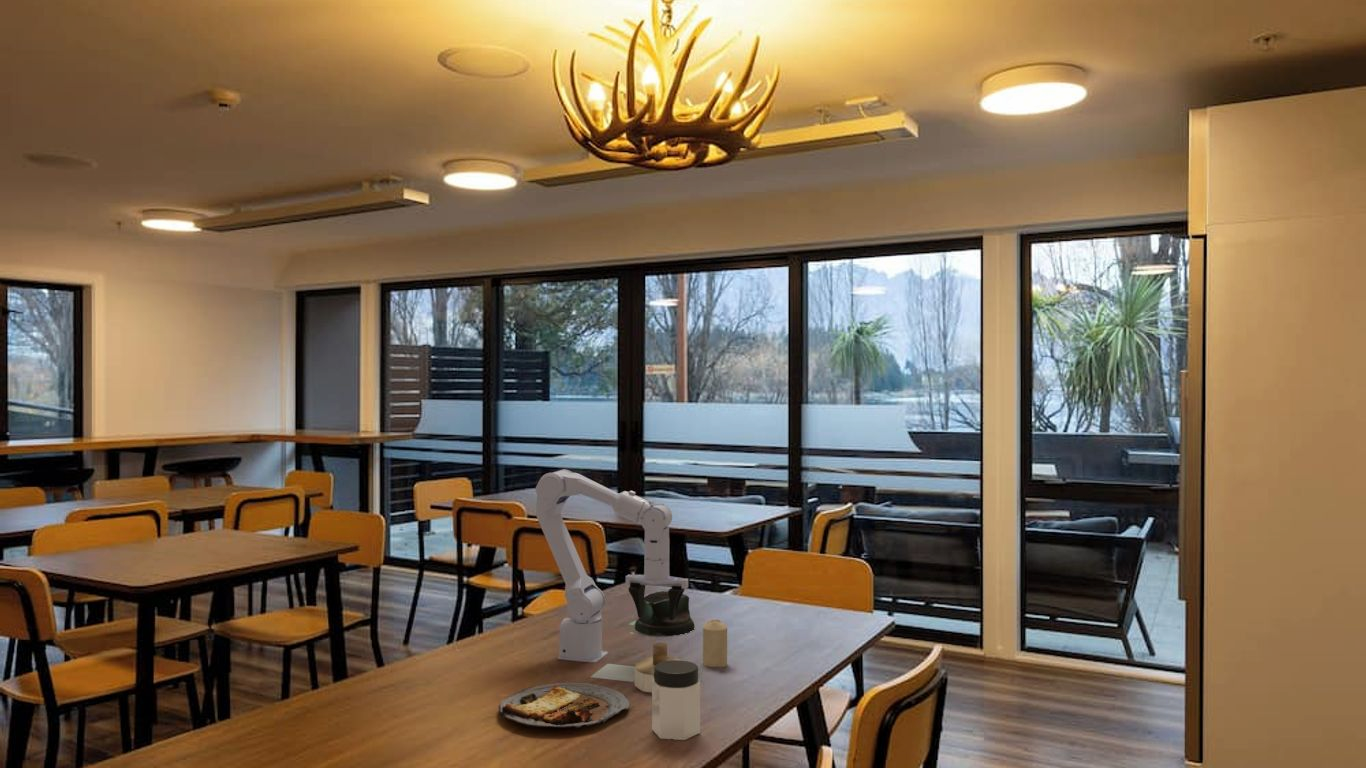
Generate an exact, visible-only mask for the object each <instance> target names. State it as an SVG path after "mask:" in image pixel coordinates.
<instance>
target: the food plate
mask: <svg viewBox="0 0 1366 768" xmlns="http://www.w3.org/2000/svg"><path fill="white" fill-rule="evenodd" d="M582 696H589V697H587V698H583V699H580V700H578V699H579V698H581V697H582ZM594 698H595V699H598V700H601V701H603V702H605V703H606V704H607V705H605V707H606V713H605V714H604V715H603V716H602V717H599V718H598V719H597V720H593V721H592V720H591V719H592V715H594V713H593V711H590V710H592V709H595V708H597V707H600V706H601V705H600V702H598V701H596V700H595V699H594ZM576 700H578V701H576ZM574 701H576V702H575V703H573V702H574ZM572 703H573V704H572ZM569 704H571V705H570V706H568V705H569ZM566 706H567V708H566V709H567V711H564V710H563V709H565V708H564V707H566ZM629 707H630V701H629V699H628V698H627V697H625V695H624V694H623V693H622V692H619V691H618V690H616V689H614V688H613V687H612V688H610V687H608V686H604V685H599V684H598V685H597V684H591V683H581V682H580V683H578V682H576V683H575V682H560V683H559V682H558V683H549V684H544V685H538V686H529V687H526V688H524V689H521V690H519V691H516V692H515V693H513V694H511V695H509V696H508V697H506V698H504V699H502V700H501V701H500V702H499V705H498V711H499V712H498V713H499V715H501V716H502V717H503V718H504V719H507V720H509V721H512V722H515V723H518V724H522V725H524V726H529V727H534V728H556V729H563V728H566V729H568V728H572V730H574V728H576V729H579V728H581V727H582V726H584V725H585V726H587V727H588V726H589V727H590V726H592V725H598V724H600V723H605V722H606V721H607V720H608V719H609V718H613V716H615V715H616V714H619V713H620V712H622V710H624V709H625V710H626V709H627V710H628V709H629ZM562 708H563V709H562ZM560 709H562V710H563V711H560ZM559 711H560V712H559ZM555 712H557V713H555ZM552 713H553V714H552ZM537 721H541V722H537ZM542 721H543V722H542ZM544 722H545V723H548V724H545V723H544Z"/></svg>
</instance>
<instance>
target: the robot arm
mask: <svg viewBox="0 0 1366 768" xmlns="http://www.w3.org/2000/svg"><path fill="white" fill-rule="evenodd" d="M537 482H538V483H537V484H536V487H535V488H534V490H535V493H536V501H535V502H536V504H535V515H536V518H537V521H538V523H539V525H540V527H541V528H540V529H541V530H542V533H543V535H544V536H545V539H546V542H547V544H548V546H549V549H550V551H551V553H552V556H553V558H554V561H555V562H556V565H557V567H558V569H559V572H560V574H561V577H562V579H563V581H564V584H565V586H564V588H565V589H564V597H565V599H566V610H567V611H566V612H567V614H568V616H569V617H565V618H563V619H562V621H561V623H560V626H559V631H558V632H559V634H558V635H559V637H558V639H559V640H558V644H559V645H558V647H559V652H558V653H559V654H558V656H557V659H558V660H564V661H575V662H584V663H585V662H586V663H597V662H599V661H600V660H601V659H602V658H604V657H605V656H606V655H609V652H608V651H605V650H604V651H603V647H602V644H603V642H602V641H603V640H602V639H603V636H602V634H603V632H602V631H603V629H602V627H603V616H602V613H601V611H602V610H603V608H604V606H605V604H606V596H605V594H604V593H603V591H602V590H601V589H600V588H599V587H598V586H597V585H596V583H595V581H594V579H593V578H591V577H590V575H588V574H587V572H586V569H585V568H584V565H583V564H582V563H583V562H582V560H581V558H580V556H579V553H578V552H577V549H576V546H575V544H574V541H573V540H572V537H571V535H570V532H569V531H568V529H567V526H566V523H565V522H564V519H563V517H562V514H561V513H562V511H563V508H564V505H565V504H566V501H567V500H568V499H569V498H570V497H571V496H578V495H582V496H584V497H587V498H590V499H593V500H595V501H598V502H601V503H603V504H605V505H608V506H610V507H612V509H613V511H614V514H615V515H617V516H619V517H622V518H625V519H627V520H629V521H630V522H634V523H636V524H638V525H641V526H642V528H643V529H644V542H643V543H644V544H643V546H644V551H643V552H644V556H643V557H644V558H643V559H644V561H643V562H644V566H643V568H644V569H643V571H644V572H643V574H627V575H625V585H627V586H628V592H629V594H630V596H631V597H632V600H633V602H634V605H635V610H636V614H637V617H638V618H639V617H642V616H644V597H645V591H646V586H652V587H653V586H654V587H666V588H669V589H668V593H669V601H670V615H669V616H670V620H674V619H675V617H676V611H677V607H678V604H679V601H680V599H681V596H682V594H684V592H685V590H686V589H688V588H689V578H686V577H685V578H683V577H677V576H671V575H670V527H669V526H670V525H671V523H672V520H673V515H672V511H671V509H670V508H669V507H668V506H667V505H665V504H664V503H655V501H654V500H652V499H649V500H648V499H645V498H643V497H640V496H639V495H636V494H637V493H636V491H633V490H629V491H626V490H624V491H621V492H620V493H619V492H616V491H614V490H612V489H610V488H608V487H606V486H604V485H602V484H600V483H598V482H596V481H594V480H592V479H590V478H588V477H586V476H584V475H582V474H581V473H577V472H573V471H571V470H568V469H565V468H564V469H560V470H557V471H554V472H548V473H545V474H543V475H542V476H540V479H539V481H537Z"/></svg>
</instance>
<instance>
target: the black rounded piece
mask: <svg viewBox="0 0 1366 768" xmlns="http://www.w3.org/2000/svg"><path fill="white" fill-rule="evenodd" d="M669 615H670V601H669V593H668V591H666V590H665V591H664V590H660V591H655V592H653V593H647V594H646V595H644V616H642V617H638V618H637V619H636V620H634V621H631V622H629V623H628V624H627V625H628V626H629V625H630V626H634V627H633V628H634V631H635V632H638V633H640V634H643V635H646V634H647V635H648V636H653V635H654V636H656V637H674V636H673V635H677V636H681V635H680V634H683V635H686V634H685V633H687V634H690V633H691V632H690V631H692V630H694V631H695V629H696V627H695V623H694V621H693V619H692V618H691V613H690V597H689V596H688V595H686V594H684V593H683V594H682V596H681V599H680V601H679V604H678V607H677V611H676V617H675V619H674V620H670V616H669ZM694 628H695V629H694ZM635 632H629V634H632V635H634V634H635ZM689 632H690V633H689ZM692 632H693V631H692Z"/></svg>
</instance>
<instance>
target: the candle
mask: <svg viewBox="0 0 1366 768" xmlns="http://www.w3.org/2000/svg"><path fill="white" fill-rule="evenodd" d="M702 664H703V666H705V667H711V668H720V667H721V668H722V667H723V668H725V667H727V666H728V626H726V624H725V623H723V622H722V621H721V620H720V619H711V620H707V622H706V623H705V624H704V625H703V627H702Z"/></svg>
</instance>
